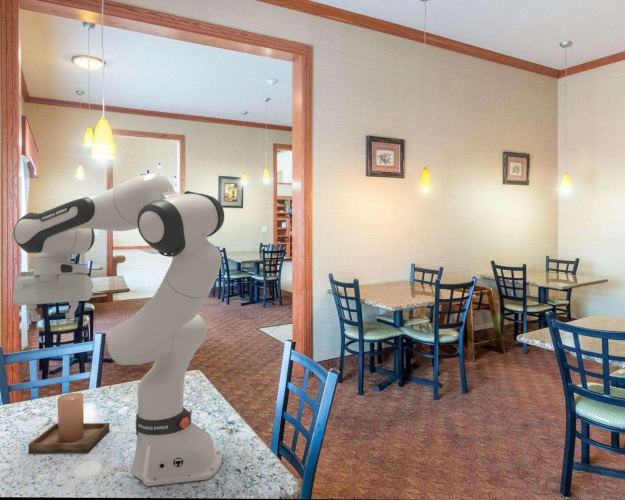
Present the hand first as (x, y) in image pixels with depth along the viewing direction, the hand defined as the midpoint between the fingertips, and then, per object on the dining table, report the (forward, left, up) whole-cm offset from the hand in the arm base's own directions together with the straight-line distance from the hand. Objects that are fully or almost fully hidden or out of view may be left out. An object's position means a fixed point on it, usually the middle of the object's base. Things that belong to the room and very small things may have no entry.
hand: (52, 320), depth 117 cm
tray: (-2, -5, -36) cm, 37 cm away
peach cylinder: (-2, -5, -35) cm, 36 cm away
